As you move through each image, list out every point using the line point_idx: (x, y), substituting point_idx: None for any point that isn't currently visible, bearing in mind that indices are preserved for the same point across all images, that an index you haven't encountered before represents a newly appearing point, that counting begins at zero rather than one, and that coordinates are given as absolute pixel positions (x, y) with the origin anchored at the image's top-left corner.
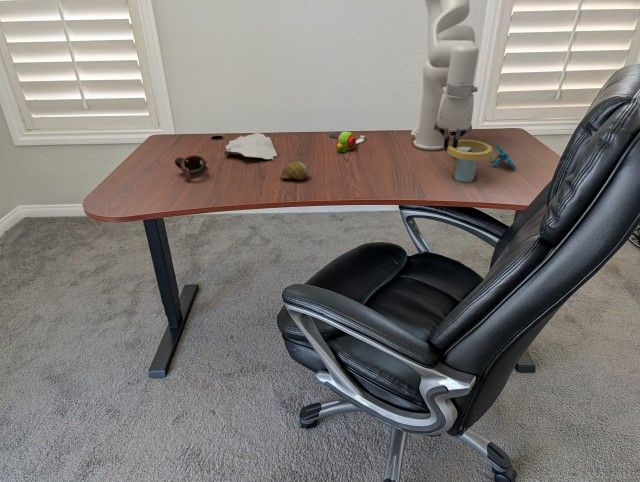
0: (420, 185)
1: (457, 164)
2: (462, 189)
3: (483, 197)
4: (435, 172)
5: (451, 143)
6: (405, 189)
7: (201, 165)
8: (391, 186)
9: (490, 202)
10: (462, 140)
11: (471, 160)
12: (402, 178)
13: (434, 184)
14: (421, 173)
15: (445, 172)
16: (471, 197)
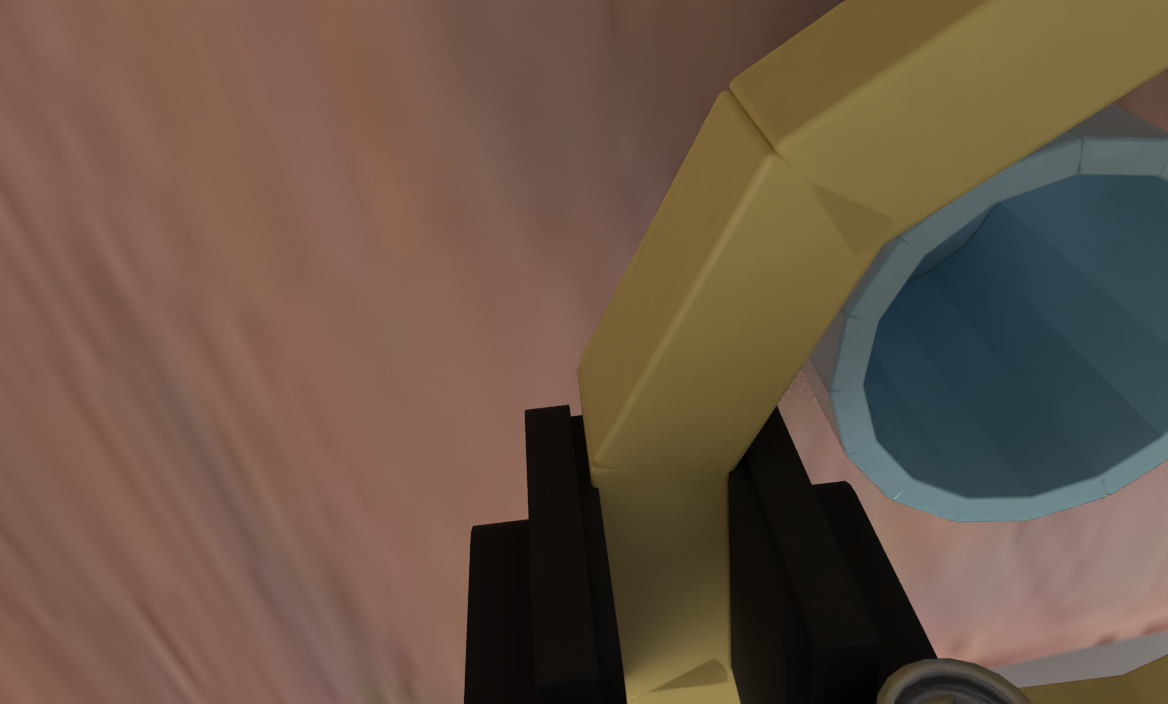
0: (342, 564)
1: (802, 368)
2: None
3: (1041, 574)
4: (402, 101)
5: (692, 475)
6: (226, 689)
7: None
8: (49, 685)
9: (1087, 635)
10: (1094, 42)
11: (1086, 495)
12: (39, 476)
13: (493, 488)
14: (203, 226)
15: (565, 36)
16: (917, 612)
